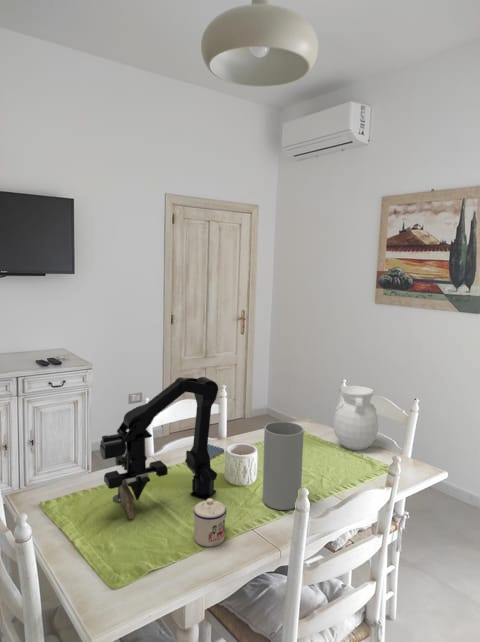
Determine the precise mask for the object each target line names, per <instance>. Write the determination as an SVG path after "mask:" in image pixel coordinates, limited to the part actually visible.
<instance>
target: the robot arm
mask: <svg viewBox="0 0 480 642" xmlns="http://www.w3.org/2000/svg"><path fill="white" fill-rule="evenodd" d="M218 392H219V386H218V383H216V381H213V379H210V378H208V377H205V376H199V377H198V378H194V377H182V376H181V377H177V378H176V379H175V381H174V382H172V383H171V384H169V386H167V387H165V389H163V390H162V391H160V392H159V393H158V394H156V396H154V397H153V398H152V399H150V400H149V401H147V403H145V404H142V405H139V406H136V407H135V408H132V409H131V410H129V411H127V412H126V413H125V414H124V415H123V421H122V422H121V424H120V426H119V427H118V428H117V430H116V434H111V435H102V436H101V440H100V444H99V450H100V456H101V459H102V460H103V461H104V460H109V459H115V460H114V461H115V465H116V466H118V467H119V466H121V468H123V470H124V471H126V472H122V473H119V471H118V470H114V471H108V472H105V473H104V475H103V482H104V484H105V485H106V486H107V488H108V489H110V490H111V489H112V490H113V489H116V488H118V487H120V486H121V485H122V480H124V481H125V483H126V484H127V486H128V487H130V488H131V490H132V491H131V492H132V494H133V496H134V499H135V500H136V501H139V500H140V497H141V495H142V493H143V490H144V489H145V488H146V486H147V484H148V483H149V482H151V479H150V477H149V475H150V474H154V473H155V475H156V476H158V477H164V476H167V475H168V471H169V469H168V466H167V465H166V464H165V463H164V462H163V461H162V460H156V461H152V462H150V463H148V464H149V466H148V467H147V466H146V465H147V464H146V461H147V460H148V459H147V458H148V457H147V456H146V439H148V438H149V439H150V438H151V437H153V436H152V434H151V433H150V432H149V431H148V430H147V428H148V427H149V426H151V424H152V422H153V421H154V418H155V417H157V415H158V414H159V413H160V414H161V412H162V411H163V410H165V409H166V408H167V407H169V406H170V405H171V404H173V402H175V401H176V400H177V399H178V398H180V397H181V396H182V395H183V394H185V393H191V394H194V398H195V402H196V413H195V423H194V424H195V425H194V433H193V445H192V447H191V449H190V450H186V452H185V453H186V454H185V455H186V456H185V460H184V463H185V464H186V467H187V468H188V469H189V471H191V473H192V474H194V475H193V476H192V477H193V479H192V485H191V488H192V489H191V490H192V492H191V493H190V496H192V497H194V498H195V497H196V498H200V499H203V500H207V499H209V498H211V497H212V496H213V495H214V494H215V493H216V492H217V489H215V480H217V477H218V473H217V472H216V471H215V470H213V469H212V468H211V466H212V465H211V460H210V457H209V453H208V449H207V446H208V444H209V435H210V426H211V416H212V415H211V412H212V407H213V404H214V403H215V402H216V399H217V396H218ZM127 430H128V431H127Z"/></svg>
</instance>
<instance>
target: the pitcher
mask: <svg viewBox="0 0 480 642" xmlns="http://www.w3.org/2000/svg"><path fill="white" fill-rule="evenodd" d="M340 393H341V396H342V399H341V401H340V402H339V403H338V404H337V406H336V407H335V413H334V417H333V418H334V419H333V432H334V434H335V436H336V438H337V439H338V441H339V443H341V444H342V445H343V446H344V447H345V448H346V449H347V450H352V451H364V450H367V448H368V447H369V446H371V445H372V444H373V442H374V441H375V439H376V437H377V435H378V429H379V421H378V414H377V408H376V407H375V405H374V404H373V403H371V402H370V401H371V400H372V398H373V395H374V390H373V389H372V388H369V387H366V386H362V385H361V386H360V385H345V386H342V387H341V388H340Z"/></svg>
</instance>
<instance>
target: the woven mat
mask: <svg viewBox="0 0 480 642" xmlns="http://www.w3.org/2000/svg"><path fill="white" fill-rule="evenodd" d="M207 449H208V453H209V457H210V461H212V460H213V459H215V458H217V457H218V456H219V455H222V454H224V453H225V449H224V448H223V447H220V446H217V445H213V444H210V443H208V446H207Z"/></svg>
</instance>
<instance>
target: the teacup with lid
mask: <svg viewBox="0 0 480 642" xmlns="http://www.w3.org/2000/svg"><path fill="white" fill-rule="evenodd" d="M227 513H228V508H227V507H226V506H225V505H224V504H223V503H222V502H220V501H217V500H214V499H213V498H211V497H210V498H208V499H205V500H203V501H200V502H198V503H197V504H196V505H195V506H194V508H193V514H194V518H193V520H194V523H193V524H194V525H193V528H194V529H193V531H194V532H193V533H194V534H193V538H194V541H195V542H196V543H197V544H198V545H200V546H202V547H215V546H216V547H217V546H218V545H220V544H222V543H223V542H224V540H225V537H226V533H225V532H226V531H225V530H226V529H225V528H226V517H227Z"/></svg>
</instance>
